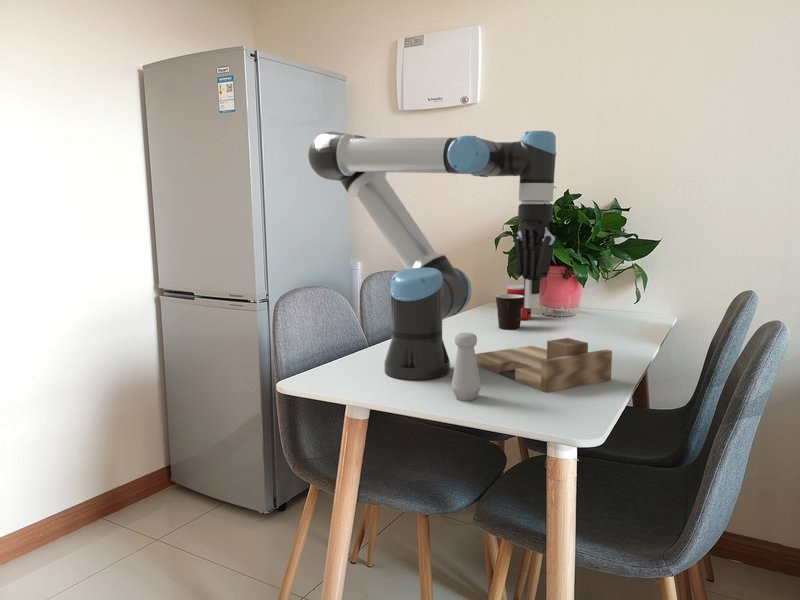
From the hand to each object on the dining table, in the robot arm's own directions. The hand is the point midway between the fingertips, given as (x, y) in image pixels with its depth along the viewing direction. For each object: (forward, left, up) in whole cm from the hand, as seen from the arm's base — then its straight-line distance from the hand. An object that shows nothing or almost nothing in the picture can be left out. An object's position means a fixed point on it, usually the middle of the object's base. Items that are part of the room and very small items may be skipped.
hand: (530, 307), depth 139 cm
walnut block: (+1, -11, -12) cm, 16 cm away
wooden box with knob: (0, -3, -15) cm, 15 cm away
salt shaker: (-25, -11, -15) cm, 31 cm away
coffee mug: (+24, +41, -15) cm, 50 cm away
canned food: (+38, +53, -15) cm, 67 cm away
